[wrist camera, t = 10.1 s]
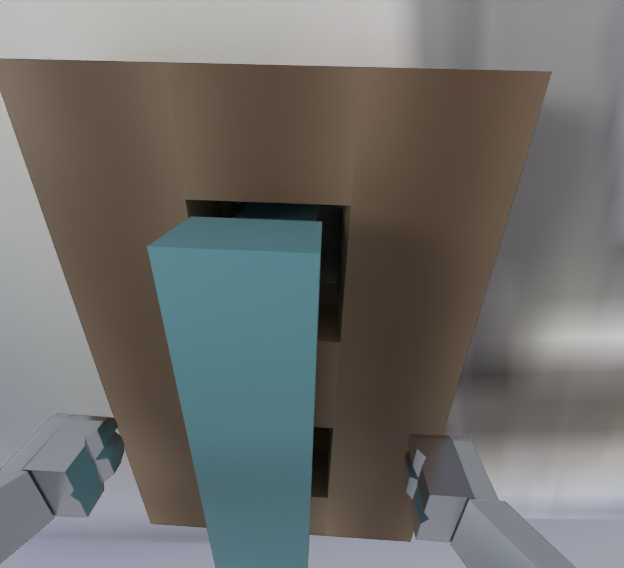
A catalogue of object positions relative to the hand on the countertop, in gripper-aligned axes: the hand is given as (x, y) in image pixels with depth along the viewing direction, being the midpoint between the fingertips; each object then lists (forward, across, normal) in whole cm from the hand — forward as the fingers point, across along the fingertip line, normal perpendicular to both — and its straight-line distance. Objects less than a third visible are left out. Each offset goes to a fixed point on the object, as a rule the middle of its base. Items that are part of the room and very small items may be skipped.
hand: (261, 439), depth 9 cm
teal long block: (+6, 0, 0) cm, 6 cm away
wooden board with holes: (+6, 0, 0) cm, 6 cm away
